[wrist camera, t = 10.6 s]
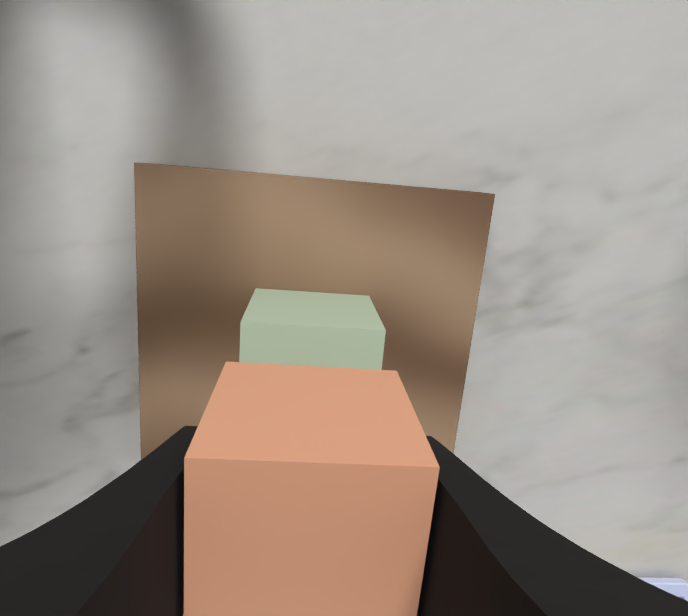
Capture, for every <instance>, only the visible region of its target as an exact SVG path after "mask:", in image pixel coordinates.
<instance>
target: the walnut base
mask: <svg viewBox="0 0 688 616" xmlns="http://www.w3.org/2000/svg"><path fill="white" fill-rule="evenodd" d="M134 176H135V219H136V262H137V305H138V348H139V391H140V434H141V460H142V459H143V458H145V457H146V456H147V455H148V454H150V453H151V452H152V451H154V450H155V449H156V448H157V447H159V446H160V445H161V444H162V443H164V442H165V441H166V440H167V439H169V438H170V437H171V436H172V435H173V434H175V433H176V432H177V431H179V430H180V429H181V428H182V427H184V426H198V425H199V423H200V420H201V418H202V416H203V413H204V411H205V409H206V407H207V404H208V402H209V400H210V397H211V395H212V393H213V390H214V388H215V386H216V383H217V381H218V379H219V377H220V374H221V372H222V370H223V367H224V365H225V363H226V362H239V355H240V323H241V320H242V317H243V315H244V313H245V311H246V309H247V306H248V304H249V302H250V300H251V298H252V295H253V293H254V291H255V289H256V288H259V289H274V290H289V291H305V292H320V293H335V294H350V295H366V296H369V297H370V299H371V301H372V303H373V305H374V307H375V309H376V311H377V313H378V315H379V317H380V319H381V321H382V323H383V325H384V327H385V329H386V334H385V343H384V352H383V361H382V370H392V371H397V372H398V375H399V377H400V379H401V381H402V384H403V386H404V388H405V390H406V393H407V395H408V397H409V399H410V402H411V404H412V406H413V408H414V411H415V413H416V415H417V417H418V420H419V422H420V424H421V426H422V429H423V431H424V433H425V435H426V436H432V437H433V438H435V439H436V440H437V441H439V442H440V443H441V444H442V445H443V446H445V447H446V448H447V449H448V450H449V451H451V452H452V453H453V452H454V446H455V440H456V433H457V427H458V421H459V415H460V408H461V402H462V396H463V390H464V384H465V377H466V371H467V365H468V359H469V352H470V346H471V340H472V334H473V328H474V321H475V315H476V309H477V303H478V296H479V290H480V284H481V278H482V272H483V265H484V259H485V253H486V247H487V240H488V234H489V228H490V222H491V216H492V209H493V203H494V197H495V194H489V193H481V192H470V191H459V190H447V189H436V188H424V187H413V186H402V185H390V184H379V183H367V182H356V181H345V180H333V179H322V178H310V177H299V176H288V175H276V174H265V173H253V172H242V171H231V170H219V169H208V168H196V167H185V166H174V165H162V164H151V163H134Z"/></svg>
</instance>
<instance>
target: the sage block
mask: <svg viewBox="0 0 688 616" xmlns="http://www.w3.org/2000/svg"><path fill="white" fill-rule="evenodd" d="M385 334H386V329H385V327H384V325H383V323H382V321H381V319H380V317H379V315H378V313H377V311H376V309H375V307H374V305H373V303H372V301H371V299H370V297H369V296H366V295H350V294H335V293H320V292H305V291H289V290H274V289H259V288H256V289H255V291H254V293H253V295H252V298H251V300H250V302H249V304H248V306H247V309H246V311H245V313H244V315H243V317H242V320H241V323H240V355H239V362H245V363H263V364H282V365H300V366H319V367H337V368H356V369H374V370H382V361H383V352H384V343H385Z"/></svg>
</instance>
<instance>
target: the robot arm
mask: <svg viewBox="0 0 688 616" xmlns="http://www.w3.org/2000/svg"><path fill="white" fill-rule="evenodd" d="M197 427H198V426H184V427H182V428H181V429H180V430H179V431H177V432H176V433H175V434H173V435H172V436H171V437H170V438H169V439H167V440H166V441H165V442H164V443H162V444H161V445H160V446H159V447H157V448H156V449H155V450H154V451H152V452H151V453H150V454H148V455H147V456H146V457H145V458H143V459H142V460H141V461H139V462H138V463H137V464H135V465H134V466H133V467H132V468H130V469H129V470H128V471H126V472H125V473H123V474H122V475H120V476H119V477H118V478H116V479H115V480H113V481H112V482H110V483H109V484H107V485H106V486H105V487H103V488H102V489H100V490H99V491H97V492H96V493H94V494H93V495H91V496H90V497H89V498H87V499H86V500H84V501H82V502H81V503H79V504H78V505H76V506H74V507H73V508H71V509H69V510H68V511H66V512H65V513H63V514H61V515H59V516H58V517H56V518H54V519H52V520H51V521H49V522H47V523H45V524H43V525H42V526H40V527H38V528H36V529H35V530H33V531H31V532H29V533H27V534H25V535H23V536H21V537H19V538H17V539H15V540H13V541H11V542H9V543H7V544H5V545H3V546H1V547H0V616H183V614H184V457H185V455H186V453H187V450H188V448H189V446H190V443H191V441H192V439H193V437H194V434H195V432H196V430H197ZM426 438H427V440H428V442H429V444H430V447H431V449H432V451H433V453H434V456H435V458H436V460H437V462H438V465H439V467H440V469H439V475H438V482H437V488H436V495H435V501H434V508H433V514H432V520H431V527H430V533H429V540H428V546H427V553H426V559H425V566H424V572H423V579H422V585H421V592H420V598H419V605H418V611H417V616H688V583H687V581H686V580H684V579H682V578H643V577H635V576H633V575H631V574H629V573H628V572H626V571H624V570H622V569H620V568H618V567H616V566H614V565H612V564H610V563H608V562H607V561H605V560H603V559H601V558H599V557H597V556H596V555H594V554H592V553H590V552H588V551H587V550H585V549H583V548H581V547H580V546H578V545H576V544H575V543H573V542H572V541H570V540H568V539H567V538H565V537H564V536H562V535H560V534H559V533H557V532H556V531H554V530H552V529H551V528H549V527H548V526H546V525H545V524H543V523H542V522H540V521H539V520H537V519H536V518H534V517H533V516H531V515H530V514H529V513H527V512H526V511H524V510H523V509H522V508H520V507H519V506H518V505H516V504H515V503H513V502H512V501H511V500H509V499H508V498H507V497H505V496H504V495H503V494H501V493H500V492H499V491H498V490H496V489H495V488H494V487H492V486H491V485H490V484H489V483H487V482H486V481H485V480H484V479H483V478H481V477H480V476H479V475H478V474H476V473H475V472H474V471H473V470H472V469H471V468H469V467H468V466H467V465H466V464H465V463H463V462H462V461H461V460H460V459H459V458H458V457H456V456H455V455H454V454H453V453H452V452H451V451H449V450H448V449H447V448H446V447H445V446H443V445H442V444H441V443H440V442H439V441H437V440H436V439H435V438H433V437H432V436H426Z"/></svg>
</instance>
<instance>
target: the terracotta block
mask: <svg viewBox="0 0 688 616" xmlns="http://www.w3.org/2000/svg"><path fill="white" fill-rule="evenodd" d="M439 469H440V467H439V465H438V462H437V460H436V458H435V456H434V453H433V451H432V449H431V447H430V444H429V442H428V440H427V438H426V435H425V433H424V431H423V429H422V426H421V424H420V422H419V420H418V417H417V415H416V413H415V411H414V408H413V406H412V404H411V402H410V399H409V397H408V395H407V393H406V390H405V388H404V386H403V384H402V381H401V379H400V377H399V375H398V372H397V371H392V370H374V369H356V368H337V367H319V366H300V365H282V364H263V363H245V362H226V363H225V365H224V367H223V370H222V372H221V374H220V377H219V379H218V381H217V383H216V386H215V388H214V390H213V393H212V395H211V397H210V400H209V402H208V404H207V407H206V409H205V411H204V413H203V416H202V418H201V420H200V423H199V425H198V427H197V430H196V432H195V434H194V437H193V439H192V441H191V443H190V446H189V448H188V450H187V453H186V455H185V457H184V616H417V611H418V605H419V598H420V592H421V585H422V579H423V572H424V566H425V559H426V553H427V546H428V540H429V533H430V527H431V520H432V514H433V508H434V501H435V495H436V488H437V482H438V475H439Z"/></svg>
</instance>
